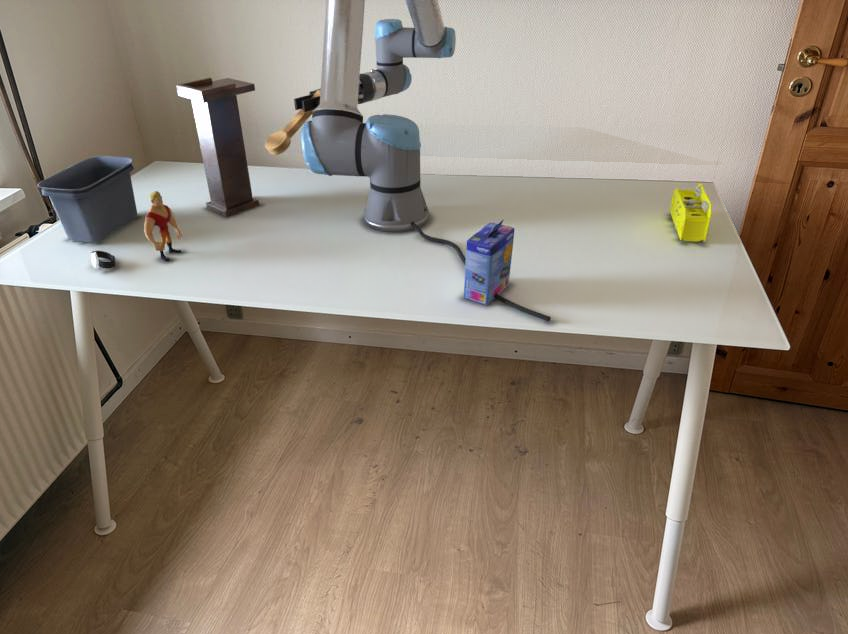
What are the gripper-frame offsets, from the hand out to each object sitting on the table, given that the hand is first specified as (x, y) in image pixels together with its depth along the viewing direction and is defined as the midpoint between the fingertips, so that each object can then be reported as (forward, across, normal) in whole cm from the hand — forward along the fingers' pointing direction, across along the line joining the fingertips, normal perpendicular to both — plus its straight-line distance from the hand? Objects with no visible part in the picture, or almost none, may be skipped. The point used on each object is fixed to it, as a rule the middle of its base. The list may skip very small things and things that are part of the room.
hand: (299, 105), depth 176 cm
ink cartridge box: (+18, +76, +20) cm, 81 cm away
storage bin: (+54, -14, +20) cm, 59 cm away
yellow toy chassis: (-33, +91, +20) cm, 99 cm away
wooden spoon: (+1, 0, +5) cm, 5 cm away
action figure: (+50, +14, +20) cm, 56 cm away
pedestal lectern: (+24, 0, +20) cm, 31 cm away
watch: (+62, +6, +20) cm, 66 cm away
